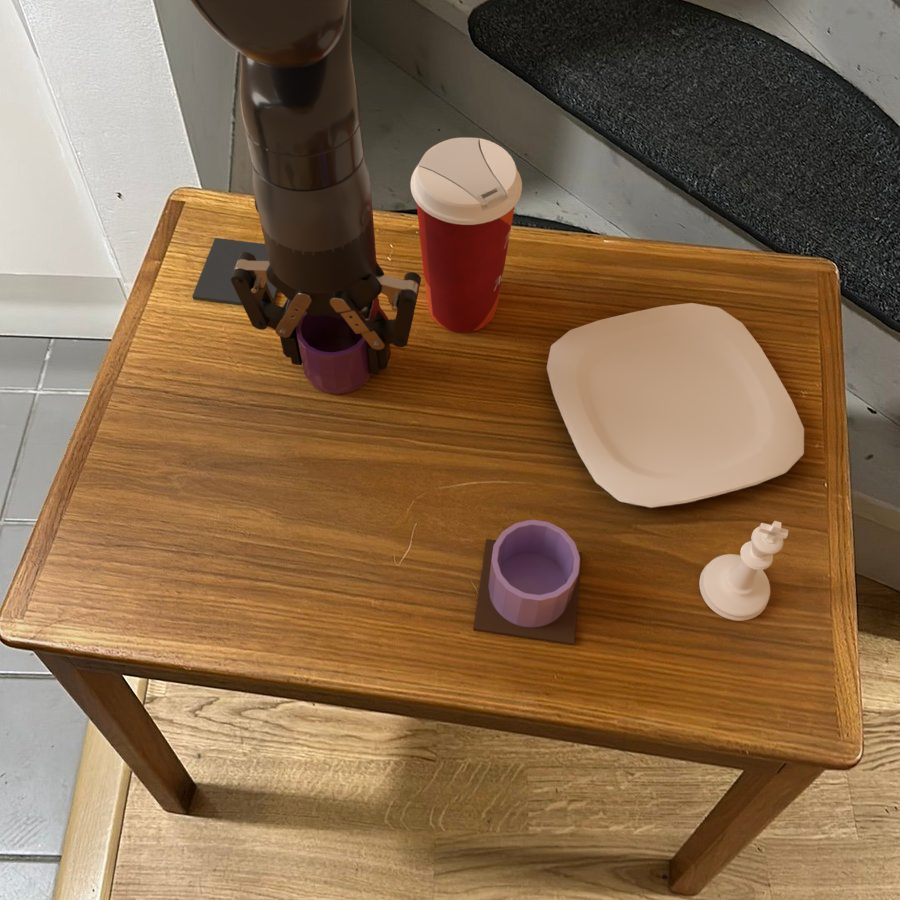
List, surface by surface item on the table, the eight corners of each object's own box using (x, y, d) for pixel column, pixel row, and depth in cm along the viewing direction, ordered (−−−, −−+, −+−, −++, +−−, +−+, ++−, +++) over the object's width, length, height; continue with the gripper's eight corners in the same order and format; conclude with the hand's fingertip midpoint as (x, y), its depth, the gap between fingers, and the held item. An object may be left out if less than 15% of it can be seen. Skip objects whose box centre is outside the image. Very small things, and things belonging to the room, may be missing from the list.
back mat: (192, 299, 80) (191, 296, 79) (215, 240, 83) (214, 237, 83) (272, 309, 79) (271, 306, 79) (291, 250, 83) (291, 246, 82)
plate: (723, 302, 80) (728, 288, 79) (824, 475, 71) (832, 463, 70) (526, 346, 77) (528, 333, 76) (604, 532, 68) (608, 522, 67)
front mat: (473, 630, 64) (473, 628, 64) (486, 540, 68) (486, 538, 67) (573, 645, 64) (574, 643, 63) (581, 554, 67) (582, 551, 67)
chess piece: (764, 629, 64) (814, 570, 56) (694, 609, 65) (732, 548, 57) (772, 567, 67) (821, 501, 58) (704, 549, 68) (743, 481, 59)
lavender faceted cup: (483, 621, 64) (486, 592, 60) (493, 546, 67) (497, 514, 63) (566, 633, 64) (576, 605, 59) (573, 557, 67) (582, 526, 62)
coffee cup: (528, 316, 79) (546, 180, 66) (449, 358, 77) (452, 226, 64) (472, 256, 83) (479, 116, 70) (395, 294, 80) (387, 157, 67)
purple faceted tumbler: (296, 389, 75) (287, 350, 70) (312, 333, 78) (305, 293, 73) (366, 398, 74) (362, 360, 70) (380, 342, 77) (377, 302, 73)
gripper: (431, 180, 63) (432, 336, 77) (225, 156, 64) (264, 315, 78) (412, 261, 59) (417, 410, 73) (193, 234, 60) (240, 386, 74)
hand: (338, 360), depth 75 cm, fingers closed on purple faceted tumbler, 6 cm apart
